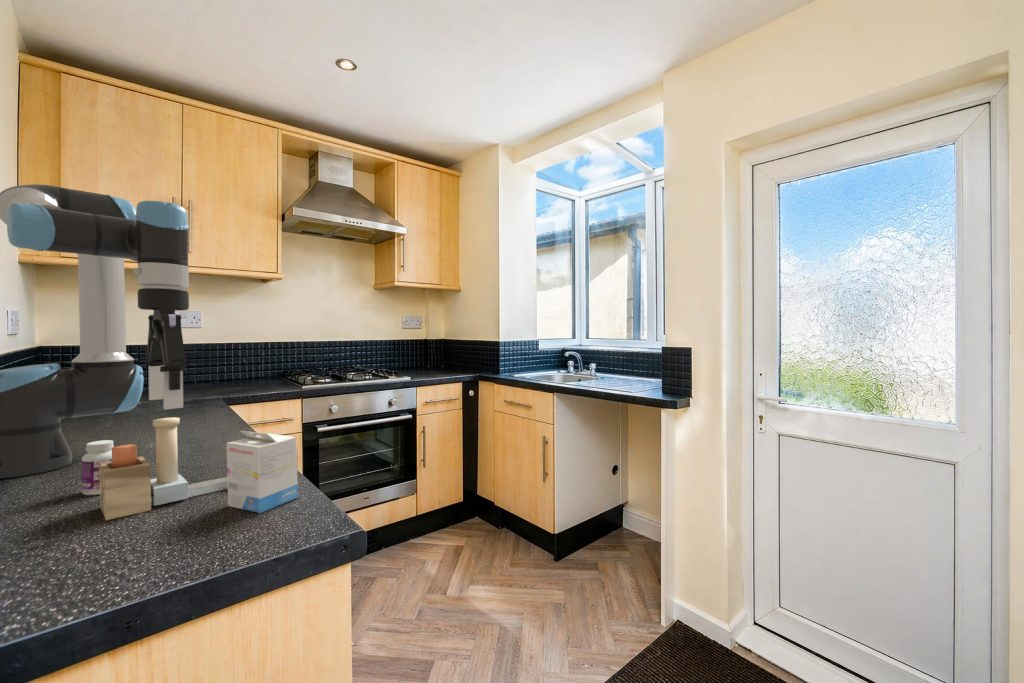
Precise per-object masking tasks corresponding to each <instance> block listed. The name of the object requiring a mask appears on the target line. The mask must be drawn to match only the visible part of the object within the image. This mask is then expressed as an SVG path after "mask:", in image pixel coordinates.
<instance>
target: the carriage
mask: <svg viewBox="0 0 1024 683" xmlns="http://www.w3.org/2000/svg"><path fill="white" fill-rule="evenodd" d="M180 422H181V419H180V417H175V416H174V417H173V416H172V417H164V418H157V419H156V418H155V419H153V420H152V427H153V428H155V464H156V465H155V468H156V477H155V478H151V493H152V495H153V506H160V505H164V504H168V503H173V502H177V501H182V500H187V499H189V498H188V494H187V490H188V485H189V482H188V481H187V480H186V479H185V478H184V477H183V476H182V475H181V474H180V473H179V465H178V464H179V462H178V460H179V458H178V425H180Z"/></svg>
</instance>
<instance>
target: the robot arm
mask: <svg viewBox="0 0 1024 683" xmlns="http://www.w3.org/2000/svg"><path fill="white" fill-rule="evenodd" d="M188 219H189V218H188V212H187V210H186V209H185V208H184V207H183V206H181V205H179V204H176V203H172V202H167V201H161V200H142V201H141V200H140V201H139V202H138V203H137V204H136V208H135V206H134V205H133V203H131V202H130V201H129V200H127V199H125V198H121V197H115V196H111V195H110V194H101V193H96V192H91V191H83V190H80V189H79V190H78V189H71V188H67V187H61V186H57V185H49V184H40V183H39V184H34V183H33V184H21V185H20V184H19V185H15V186H10V187H7V188H6V189H4V190H2V191H1V192H0V220H1V221H2V222H3V223H4V224H5V225H6V229H7V231H6V234H7V237H8V242H9V243H10V245H11V246H13V247H15V248H18V249H29V250H32V251H37V252H44V251H46V252H55V253H66V254H67V253H68V254H76V255H77V268H78V269H77V272H78V273H77V276H78V312H79V313H78V315H79V316H78V317H79V320H78V321H79V324H78V325H79V354H78V355H77V356H76V357H74V358H73V359H72V360H71V368H62V366H60V364H59V363H56V362H55V363H52V362H51V363H43V364H41V363H40V364H32V365H24V366H16V367H10V368H5V369H0V479H9V478H16V477H23V476H31V475H37V474H41V473H46V472H50V471H54V470H57V469H61V468H65V467H66V466H69V465H71V464H72V463H73V452H72V449H71V448H70V446H69V444H68V442H67V439H66V437H65V436H64V433H63V432H62V425H61V424H62V419H69V418H78V417H86V416H87V417H88V416H95V415H96V416H97V415H105V414H109V415H112V414H113V415H114V414H116V413H122V412H129V411H132V410H133V409H134V408H136V407H137V405H138V404H139V402H140V400H141V397H142V393H143V390H144V381H145V380H144V379H145V377H144V371H143V368H142V367H141V366H140V365H138V364H135V359H134V357H132V356H131V355H130V354H129V353H127V341H126V340H127V338H126V336H127V334H126V330H127V329H126V293H125V292H126V286H125V280H126V279H125V260H126V259H127V260H130V261H133V262H136V263H137V267H133V274H137V284H138V286H140V287H142V288H139V289H138V290H137V308H138V309H140V310H142V311H143V310H147V311H153V314H149V315H148V317H147V319H148V335H147V345H146V357H145V361H146V363H147V365H148V400H149V401H157V400H163V410H165V411H166V410H174V409H182V408H184V369H185V368H187V363H186V354H185V346H184V338H183V332H182V316H181V314H176V311H177V312H178V311H180V312H181V311H183V312H184V311H188V310H189V309H190V296H189V295H190V294H189V292H188V290H186V289H187V288H189V286H190V271H189V270H190V267H189V228H190V225H189V221H188Z"/></svg>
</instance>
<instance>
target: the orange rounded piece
mask: <svg viewBox="0 0 1024 683" xmlns="http://www.w3.org/2000/svg"><path fill="white" fill-rule="evenodd" d="M137 457H138V445H137V444H123V445H122V444H121V445H117V446H114V447H113V448H112V469H114V468H120V467H126V466H132V465H137Z"/></svg>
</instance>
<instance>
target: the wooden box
mask: <svg viewBox="0 0 1024 683" xmlns="http://www.w3.org/2000/svg"><path fill="white" fill-rule="evenodd" d="M99 467H100V494H99V500H100V501H99V504H100V505H99V507H100V510H101V513H102V515H103V517H104V519H105V521H109V520H113V519H118V518H122V517H126V516H131V515H135V514H140V513H145V512H149V511H152V506H151V479H152V478H151V464H150V463H149V462H148V460H146V459H145V457H144V456H143V455H141V456H137V465H132V466H126V467H120V468H114V469H112V461H108V462H102V463H99Z"/></svg>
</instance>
